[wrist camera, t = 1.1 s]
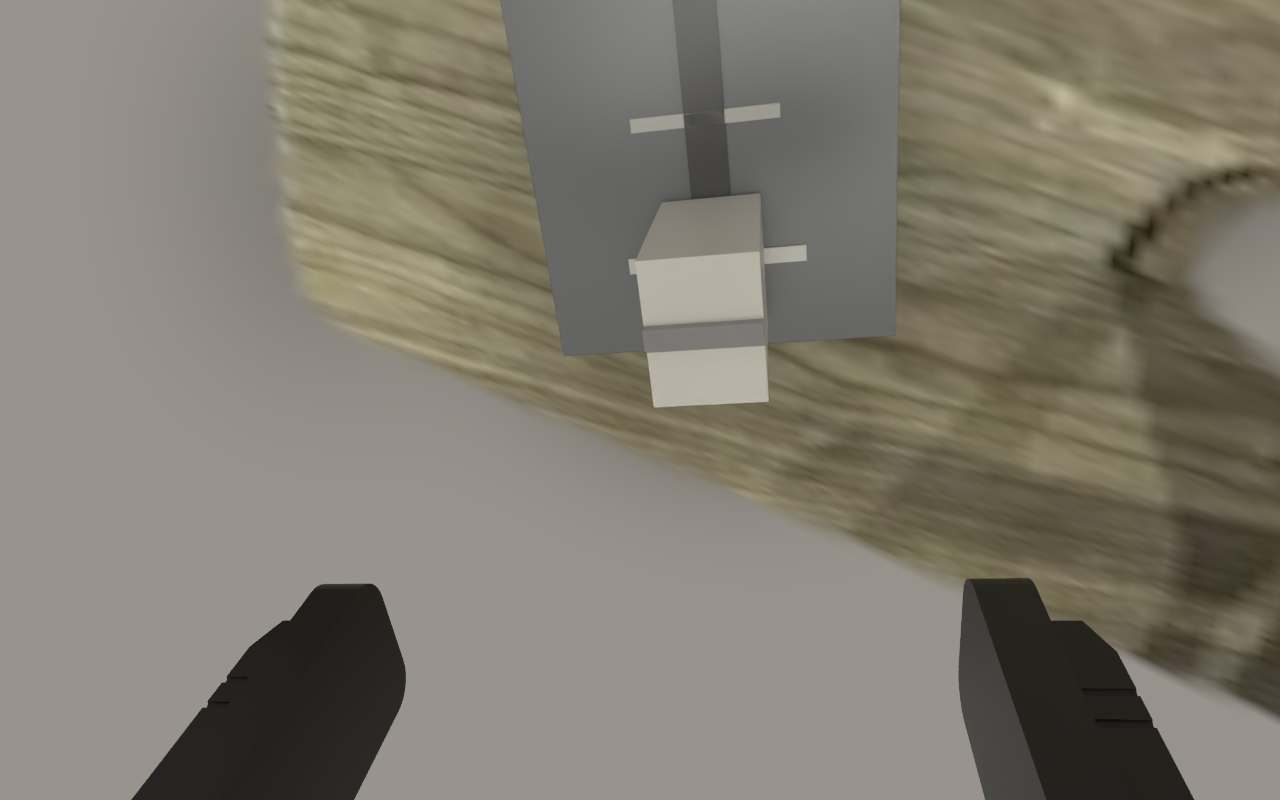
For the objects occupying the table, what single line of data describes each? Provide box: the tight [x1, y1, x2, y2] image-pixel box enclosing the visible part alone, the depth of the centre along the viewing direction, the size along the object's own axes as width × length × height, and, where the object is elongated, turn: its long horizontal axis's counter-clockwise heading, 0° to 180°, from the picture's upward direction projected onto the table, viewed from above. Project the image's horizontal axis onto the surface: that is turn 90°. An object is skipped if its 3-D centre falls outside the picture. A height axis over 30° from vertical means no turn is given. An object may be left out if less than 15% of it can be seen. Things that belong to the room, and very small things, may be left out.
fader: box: [635, 193, 769, 407], centre depth 23 cm, size 3×4×6 cm
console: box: [500, 0, 900, 356], centre depth 24 cm, size 11×19×3 cm, turn 7°
